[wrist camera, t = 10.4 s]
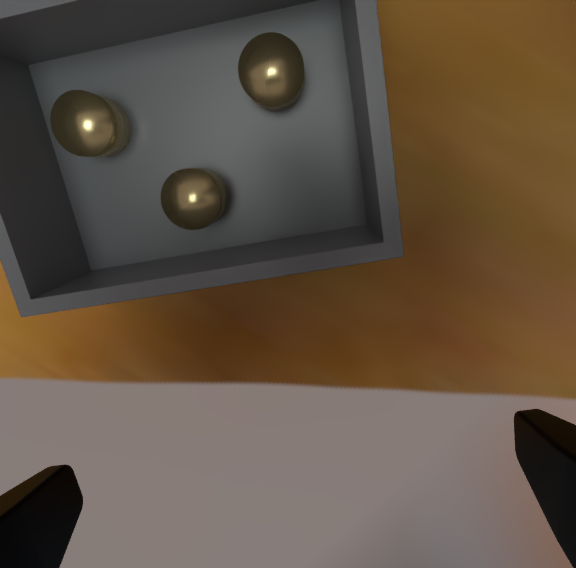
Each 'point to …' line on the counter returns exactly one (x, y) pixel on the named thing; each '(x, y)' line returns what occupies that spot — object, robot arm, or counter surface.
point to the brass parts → (191, 181)
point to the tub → (189, 148)
